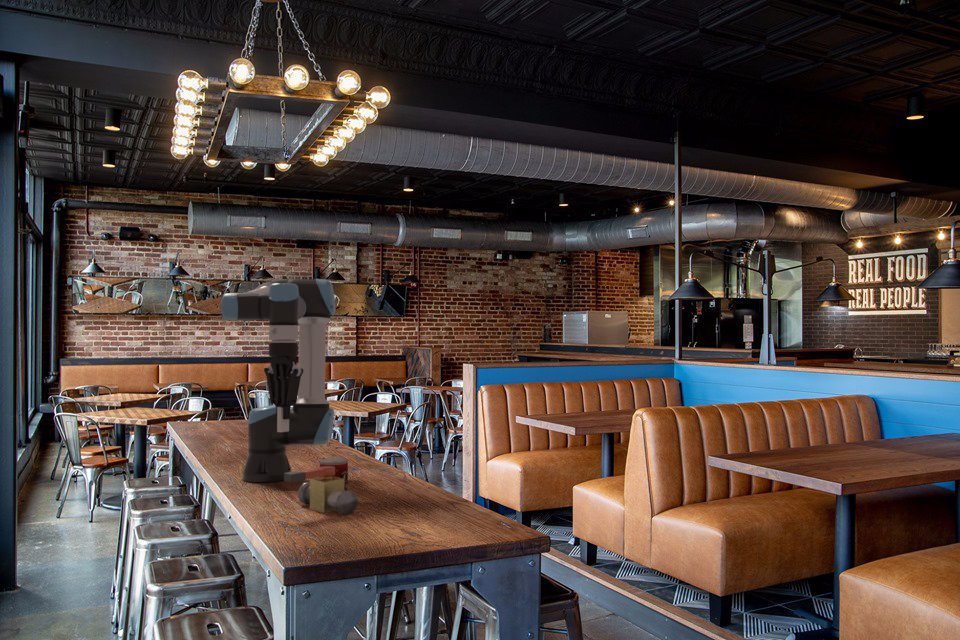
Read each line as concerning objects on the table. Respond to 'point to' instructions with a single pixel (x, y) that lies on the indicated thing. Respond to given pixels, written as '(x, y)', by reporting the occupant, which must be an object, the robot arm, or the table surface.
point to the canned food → (338, 468)
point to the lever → (309, 474)
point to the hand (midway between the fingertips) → (283, 431)
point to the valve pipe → (328, 495)
